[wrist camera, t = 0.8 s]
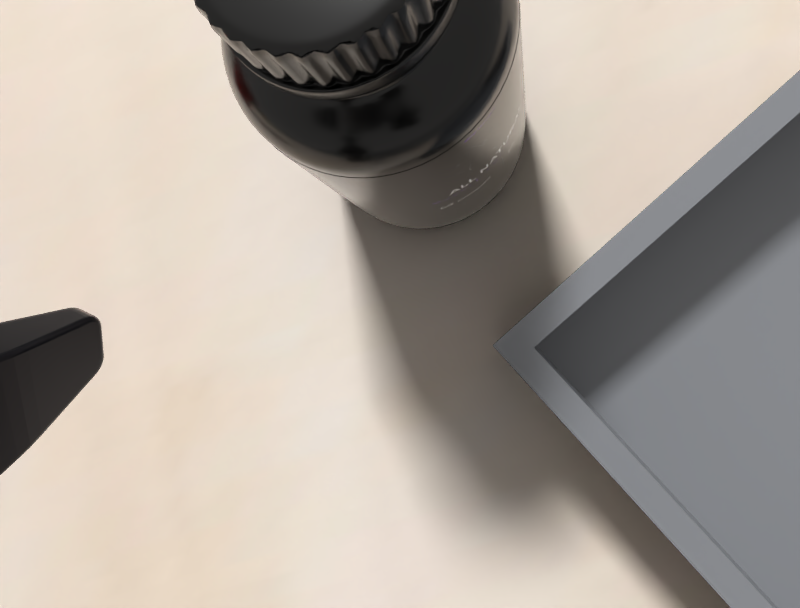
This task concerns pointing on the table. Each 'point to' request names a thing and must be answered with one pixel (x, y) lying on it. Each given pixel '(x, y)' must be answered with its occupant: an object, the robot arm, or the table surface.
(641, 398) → the bin
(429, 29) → the supplement bottle
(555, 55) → the table surface
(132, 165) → the table surface
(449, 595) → the table surface
